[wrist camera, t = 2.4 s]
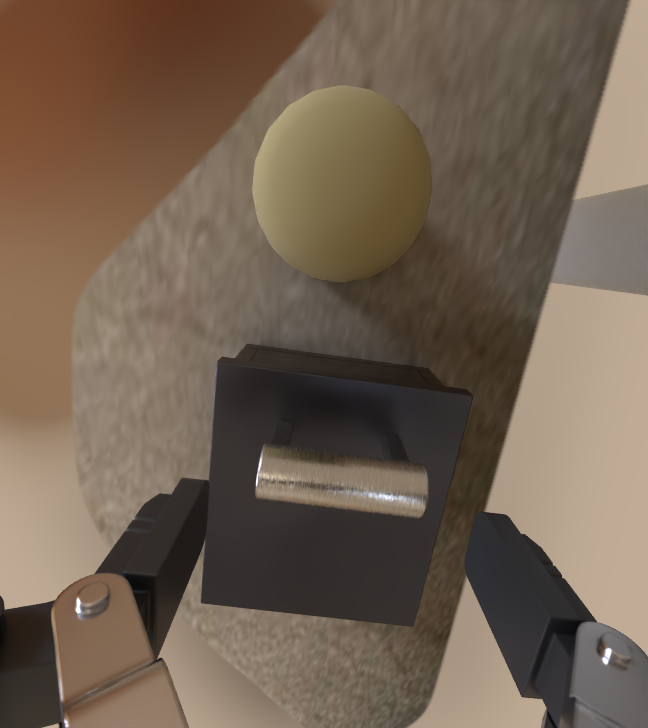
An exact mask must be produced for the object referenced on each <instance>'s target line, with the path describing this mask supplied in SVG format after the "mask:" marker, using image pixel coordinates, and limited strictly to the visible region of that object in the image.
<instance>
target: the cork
mask: <svg viewBox="0 0 648 728" xmlns="http://www.w3.org/2000/svg"><path fill="white" fill-rule="evenodd" d="M252 193H253V198H254V203H255V208H256V213H257V219H258V222H259V224H260V226H261V228H262V230H263V231H264V233H265V235H266V237H267V239H268V241H269V243H270V245H271V247H272V248H273V249H274V250H275V251H276V252H277V253H278V254H279V255H280V256H281V257H282V258H283V259H284V260H285V261H286V262H287V263H288V264H289V265H290V266H292V267H294V268H295V269H297V270H299V271H301V272H303V273H305V274H307V275H309V276H311V277H313V278H315V279H321V280H327V281H333V282H339V283H343V282H349V281H355V280H361V279H367V278H369V277H371V276H373V275H375V274H377V273H379V272H381V271H383V270H385V269H387V268H389V267H391V266H392V265H393V264H394V263H395V262H396V261H397V260H398V259H399V258H400V257H401V256H402V255H403V254H404V253H405V252H406V251H407V250H408V249H409V248H410V247H411V246H412V244H413V243H414V241H415V239H416V237H417V235H418V233H419V232H420V230H421V228H422V226H423V224H424V222H425V220H426V216H427V211H428V207H429V202H430V197H431V193H432V178H431V165H430V157H429V154H428V152H427V149H426V146H425V144H424V141H423V139H422V136H421V134H420V131H419V129H418V128H417V127H416V125H415V124H414V123H413V122H412V120H411V119H410V118H409V117H408V116H407V114H406V113H405V112H404V111H403V110H402V108H401V107H400V106H399V105H397V104H396V103H394V102H392V101H391V100H389V99H387V98H386V97H384V96H382V95H381V94H379V93H377V92H376V91H374V90H369V89H364V88H358V87H353V86H348V85H341V86H335V87H330V88H324V89H319V90H314V91H313V92H311V93H309V94H307V95H306V96H304V97H302V98H301V99H299V100H297V101H296V102H294V103H292V104H291V105H289V106H288V107H287V108H286V109H285V110H284V112H283V113H282V114H281V115H280V116H279V117H278V119H277V120H276V121H275V122H274V123H273V124H272V126H271V127H270V128H269V129H268V131H267V134H266V136H265V139H264V141H263V143H262V146H261V148H260V151H259V153H258V155H257V158H256V160H255V169H254V179H253V189H252Z"/></svg>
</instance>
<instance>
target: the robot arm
mask: <svg viewBox="0 0 648 728" xmlns="http://www.w3.org/2000/svg"><path fill="white" fill-rule="evenodd" d="M208 501H209V481H208V480H199V479H190V478H182V479H181V480H180V482H179V483H178V485H177V486H176V488H175V490H174V491H173V493H172V494H171V495H169V494H158V495H157V496H155V497H154V498H152V499H151V500H149V501H148V502H146V503H145V504H144V505H143V507H142V508H141V509H140V511H139V512H138V514H137V515H136V516H135V519H134V520H133V521H132V522H131V523H130V525H129V526H128V528H127V530H126V531H125V532H124V533H123V535H122V536H121V537H120V539H119V540H118V542H117V543H116V544H115V546H114V547H113V549H112V550H111V551H110V553H109V554H108V556H107V557H106V558H105V560H104V561H103V563H102V564H101V566H100V567H99V568H98V570H97V571H96V573H95V574H93V575H90V576H87V577H84V578H82V579H80V580H78V581H76V582H74V583H73V584H71V585H70V586H68V587H67V588H66V589H65V590H63V592H61V594H60V595H59V596H58V597H57V599H56V600H55V601H51V602H47V603H42V604H36V605H30V606H24V607H19V608H12V609H6V610H5V607H4V601H3V599H2V597H1V596H0V728H42V727H46V726H50V725H54V724H57V723H59V728H189V726H188V723H187V720H186V717H185V715H184V712H183V709H182V706H181V704H180V701H179V698H178V695H177V692H176V690H175V687H174V684H173V681H172V678H171V675H170V673H169V670H168V667H167V665H166V663H165V661H164V660H163V659H162V658H159V659H158V660H157V658H158V655H159V653H160V650H161V648H162V646H163V643H164V641H165V638H166V636H167V633H168V631H169V628H170V626H171V623H172V621H173V619H174V616H175V614H176V611H177V609H178V606H179V604H180V601H181V599H182V597H183V594H184V592H185V589H186V587H187V584H188V582H189V579H190V577H191V574H192V572H193V570H194V567H195V565H196V562H197V560H198V557H199V555H200V552H201V550H202V547H203V544H204V540H205V536H206V530H207V518H208ZM465 570H466V574H467V577H468V580H469V582H470V584H471V586H472V589H473V591H474V593H475V595H476V597H477V600H478V602H479V604H480V606H481V608H482V611H483V613H484V615H485V617H486V619H487V622H488V624H489V626H490V628H491V630H492V633H493V635H494V637H495V639H496V641H497V644H498V646H499V648H500V650H501V652H502V654H503V657H504V659H505V661H506V664H507V666H508V668H509V670H510V672H511V674H512V677H513V679H514V681H515V683H516V685H517V688H518V690H519V692H520V694H521V697H525V698H537V699H543V701H544V704H545V706H546V708H547V709H546V711H545V714H544V717H543V720H542V725H541V728H648V657H647V655H646V654H645V652H643V650H642V649H641V648H640V647H639V646H638V645H637V644H635V643H634V642H633V641H632V640H631V639H629V638H628V637H627V636H625V635H624V634H622V633H621V632H619V631H617V630H616V629H614V628H611V627H609V626H607V625H604V624H602V623H598V622H597V621H596V620H595V618H594V617H593V616H592V614H591V613H590V612H589V611H588V609H587V608H586V607H585V605H584V604H583V602H582V601H581V600H580V599H579V597H578V596H577V594H576V593H575V592H574V591H573V589H572V588H571V587H570V585H569V584H568V583H567V581H566V580H565V579H564V578H562V575H561V573H560V572H559V571H558V569H557V568H556V567H555V566H553V563H552V562H551V560H550V559H549V557H548V556H547V555H546V553H545V552H544V551H543V549H542V548H541V547H540V546H538V545H537V544H536V543H535V542H534V541H532V540H531V539H530V538H529V537H528V536H526V535H525V534H521V533H520V532H519V530H518V529H517V528H516V526H515V525H514V524H513V522H512V521H511V519H510V518H509V517H508V516H507V515H504V514H497V513H488V512H479V513H478V514H477V516H476V518H475V521H474V525H473V529H472V532H471V536H470V540H469V543H468V547H467V551H466V555H465Z"/></svg>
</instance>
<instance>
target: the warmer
mask: <svg viewBox="0 0 648 728" xmlns="http://www.w3.org/2000/svg"><path fill="white" fill-rule="evenodd" d="M235 359H242V360H250V361H257V362H265V363H272V364H280V365H287V366H295V367H302V368H310V369H317V370H325V371H332V372H340V373H347V374H355V375H362V376H370V377H377V378H385V379H392V380H400V381H407V382H415V383H422V384H430V385H437V386H444V385H443V384H442V383H441V382H440V381H439V380H438V379H437V378H436V376H435V375H434V374H433V373H432V372H431V371H430V370H429V369H428V368H422V367H414V366H407V365H399V364H392V363H385V362H377V361H370V360H362V359H355V358H348V357H340V356H333V355H325V354H318V353H311V352H303V351H296V350H288V349H281V348H274V347H266V346H259V345H251V344H246V346H245V347H244V348H243V349H242V350H241V352H240V353H239V354H238V355H237V356H236V358H235Z"/></svg>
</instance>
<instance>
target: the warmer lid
mask: <svg viewBox="0 0 648 728" xmlns="http://www.w3.org/2000/svg"><path fill="white" fill-rule="evenodd" d="M472 399H473V395H472V394H471V393H470V392H469V391H468V390H466V389H460V388H452V387H445V386H437V385H430V384H422V383H415V382H407V381H400V380H392V379H385V378H377V377H370V376H362V375H355V374H347V373H340V372H332V371H325V370H317V369H310V368H302V367H295V366H287V365H280V364H272V363H265V362H257V361H250V360H242V359H235V358H227V357H221V358H220V359H219V360H218V361H217V365H216V381H215V396H214V411H213V426H212V441H211V456H210V472H209V501H208V518H207V530H206V536H205V547H204V562H203V578H202V593H201V603H203V604H212V605H221V606H230V607H239V608H248V609H257V610H266V611H275V612H284V613H293V614H302V615H311V616H320V617H329V618H338V619H347V620H356V621H365V622H374V623H383V624H392V625H401V626H410V627H413V626H414V623H415V619H416V615H417V611H418V607H419V603H420V600H421V596H422V592H423V588H424V584H425V580H426V576H427V573H428V569H429V565H430V561H431V557H432V553H433V549H434V546H435V542H436V538H437V534H438V530H439V526H440V522H441V518H442V515H443V511H444V507H445V503H446V499H447V495H448V491H449V488H450V484H451V480H452V476H453V472H454V468H455V464H456V461H457V457H458V453H459V449H460V445H461V441H462V437H463V434H464V430H465V426H466V422H467V418H468V414H469V410H470V407H471V403H472Z"/></svg>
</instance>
